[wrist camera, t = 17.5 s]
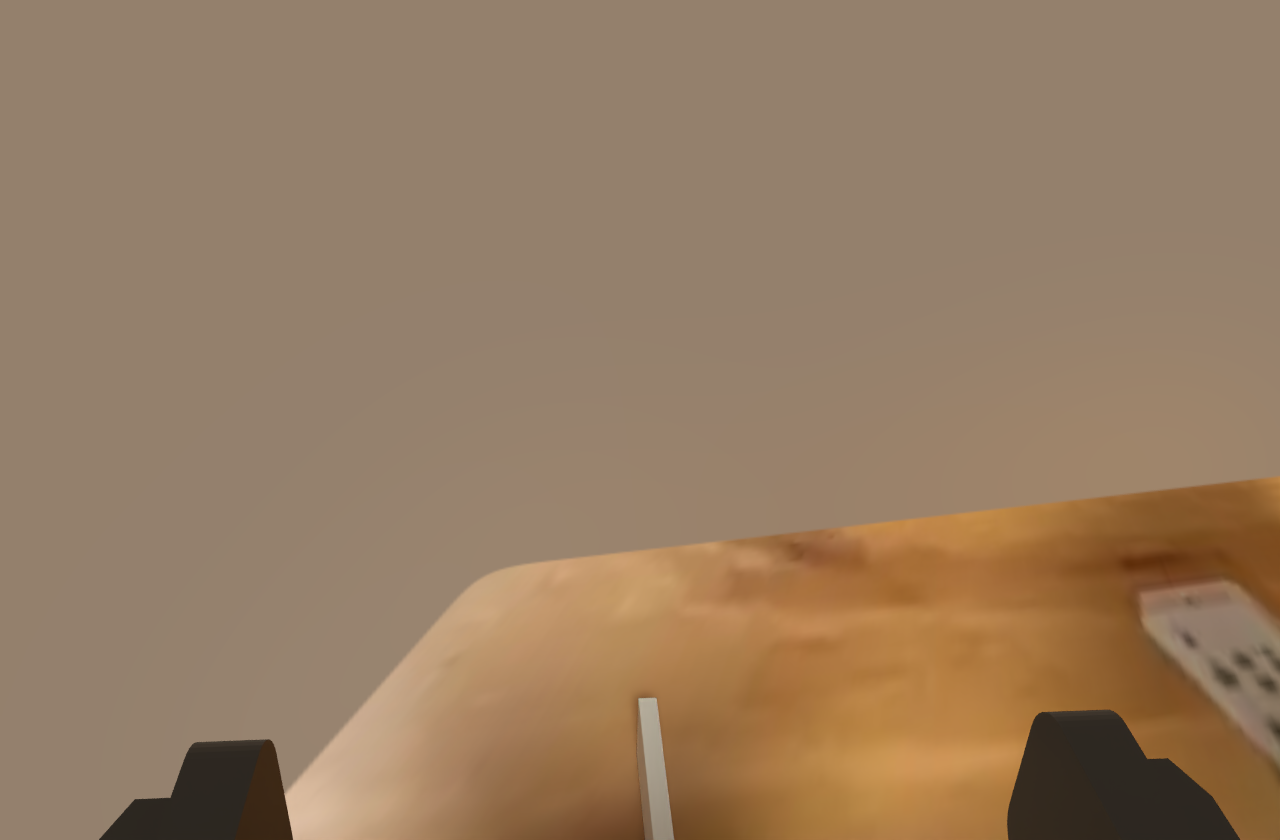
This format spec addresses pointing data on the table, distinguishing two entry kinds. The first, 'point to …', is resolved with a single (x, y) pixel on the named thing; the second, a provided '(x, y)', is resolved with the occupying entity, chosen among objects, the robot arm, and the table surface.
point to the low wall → (652, 773)
